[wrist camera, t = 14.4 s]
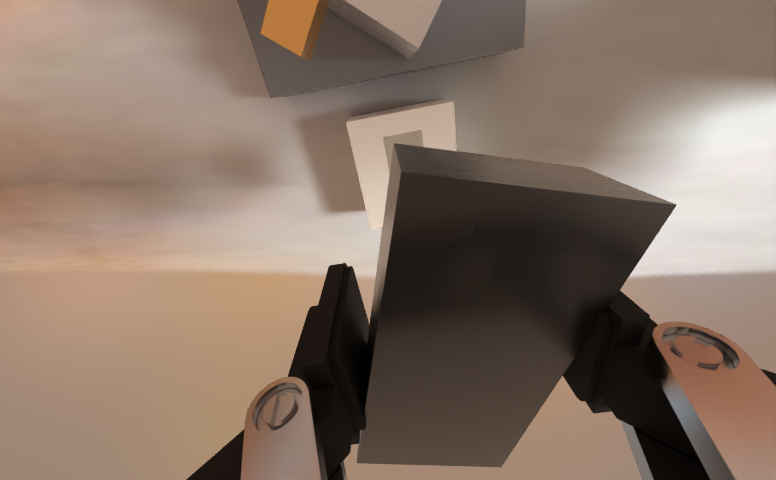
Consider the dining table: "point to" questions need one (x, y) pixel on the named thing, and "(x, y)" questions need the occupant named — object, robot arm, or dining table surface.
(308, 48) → the chuck
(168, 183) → the dining table surface
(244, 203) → the dining table surface
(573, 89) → the dining table surface
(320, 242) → the dining table surface
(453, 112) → the key stand
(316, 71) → the grey flat slab
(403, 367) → the block
